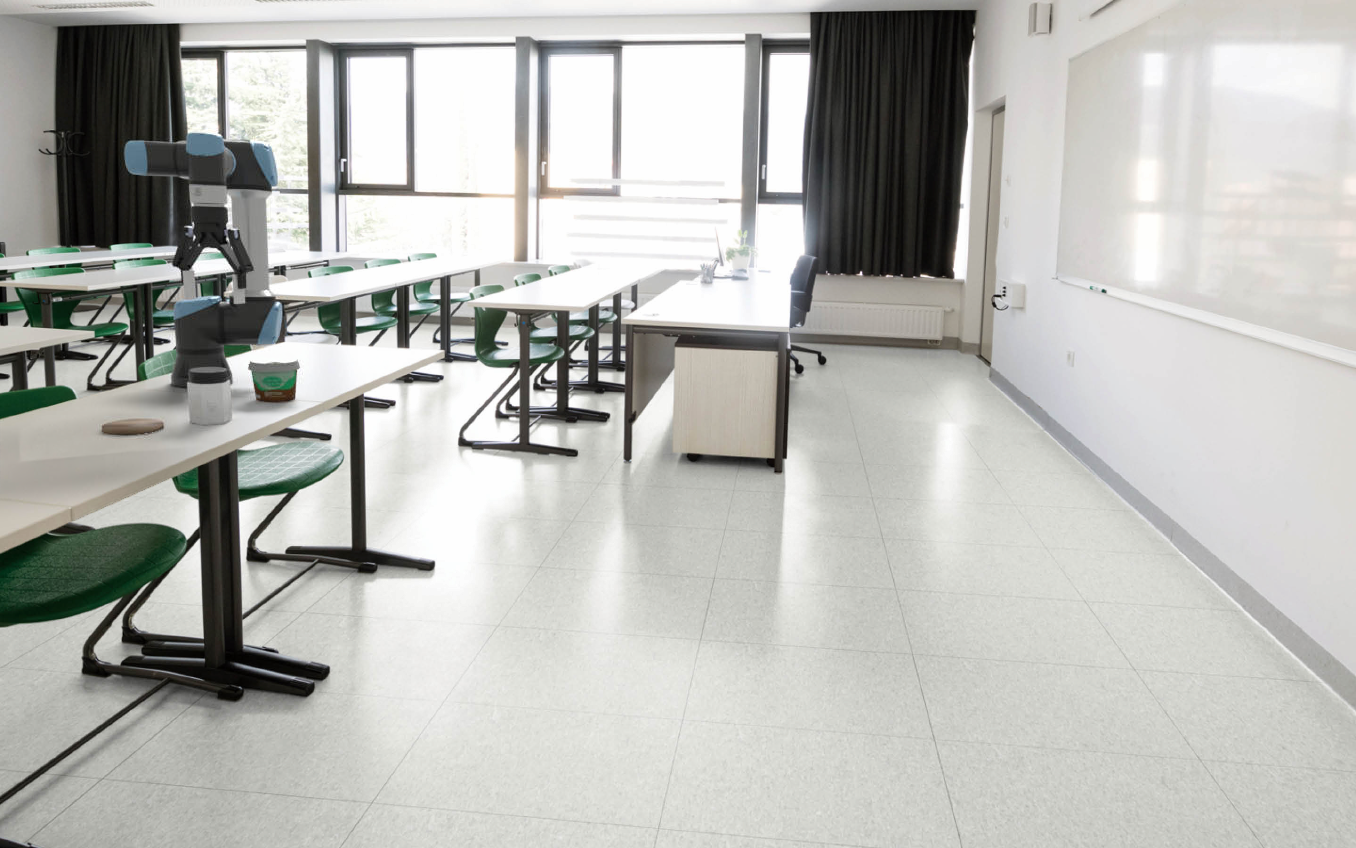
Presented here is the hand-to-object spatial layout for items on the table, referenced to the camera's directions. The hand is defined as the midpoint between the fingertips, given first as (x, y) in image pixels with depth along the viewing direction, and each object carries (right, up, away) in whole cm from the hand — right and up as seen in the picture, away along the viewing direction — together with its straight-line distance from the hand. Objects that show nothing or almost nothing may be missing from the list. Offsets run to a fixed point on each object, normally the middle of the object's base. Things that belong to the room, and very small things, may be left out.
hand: (214, 301), depth 228 cm
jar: (-2, -27, +3) cm, 28 cm away
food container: (+3, -22, +28) cm, 36 cm away
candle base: (-15, -29, -7) cm, 33 cm away
